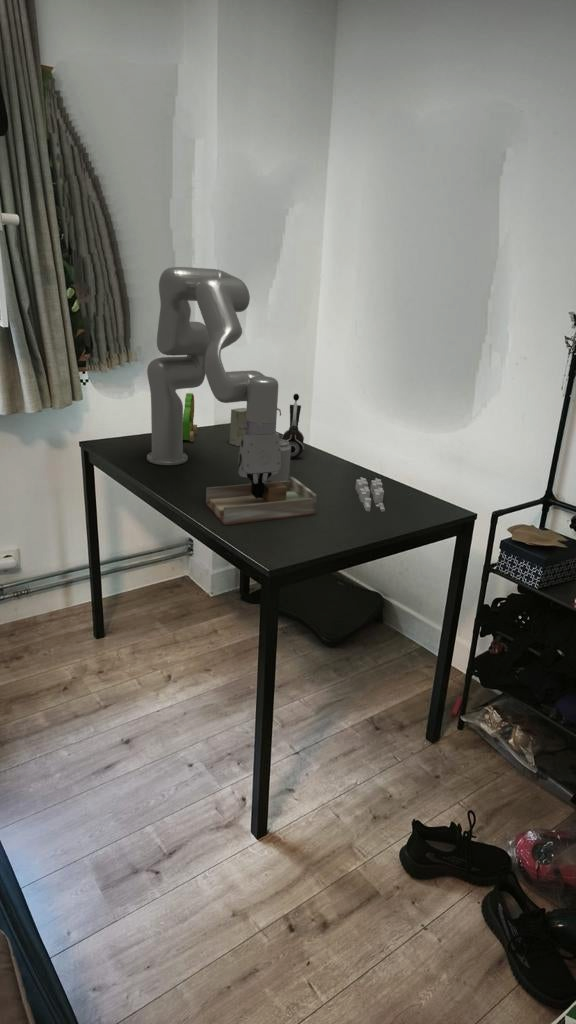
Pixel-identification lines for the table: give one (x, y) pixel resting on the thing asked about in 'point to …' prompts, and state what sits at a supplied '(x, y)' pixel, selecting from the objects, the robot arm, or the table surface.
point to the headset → (294, 430)
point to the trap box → (259, 503)
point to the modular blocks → (365, 493)
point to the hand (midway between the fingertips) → (257, 496)
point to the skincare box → (237, 425)
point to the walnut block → (274, 491)
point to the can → (283, 463)
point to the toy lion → (189, 418)
